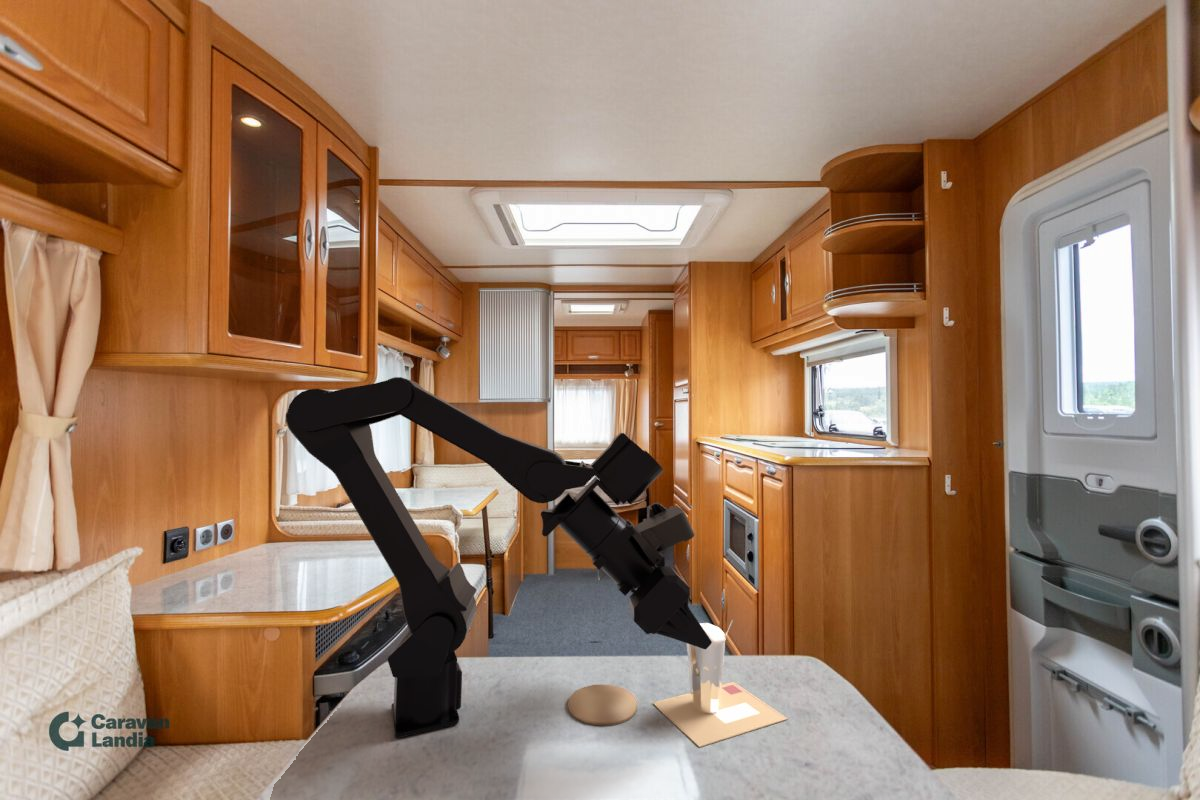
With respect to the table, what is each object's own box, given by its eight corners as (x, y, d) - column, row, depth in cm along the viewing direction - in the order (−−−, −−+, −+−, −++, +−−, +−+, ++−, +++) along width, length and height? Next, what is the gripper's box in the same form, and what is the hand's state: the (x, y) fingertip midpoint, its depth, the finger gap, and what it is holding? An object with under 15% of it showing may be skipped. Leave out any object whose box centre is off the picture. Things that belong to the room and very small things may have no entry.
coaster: (585, 732, 53) (585, 728, 53) (558, 696, 60) (558, 692, 60) (650, 715, 56) (650, 711, 56) (617, 682, 64) (617, 679, 64)
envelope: (699, 747, 51) (699, 746, 51) (652, 703, 59) (652, 702, 59) (787, 719, 56) (787, 718, 56) (733, 682, 64) (733, 681, 64)
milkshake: (734, 720, 55) (734, 627, 56) (685, 714, 56) (685, 623, 57) (732, 699, 60) (731, 613, 60) (686, 694, 61) (686, 609, 62)
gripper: (667, 494, 50) (778, 605, 50) (638, 476, 68) (719, 557, 69) (588, 576, 49) (701, 690, 49) (580, 536, 67) (662, 618, 68)
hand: (697, 628), depth 59 cm, fingers open, 9 cm apart
